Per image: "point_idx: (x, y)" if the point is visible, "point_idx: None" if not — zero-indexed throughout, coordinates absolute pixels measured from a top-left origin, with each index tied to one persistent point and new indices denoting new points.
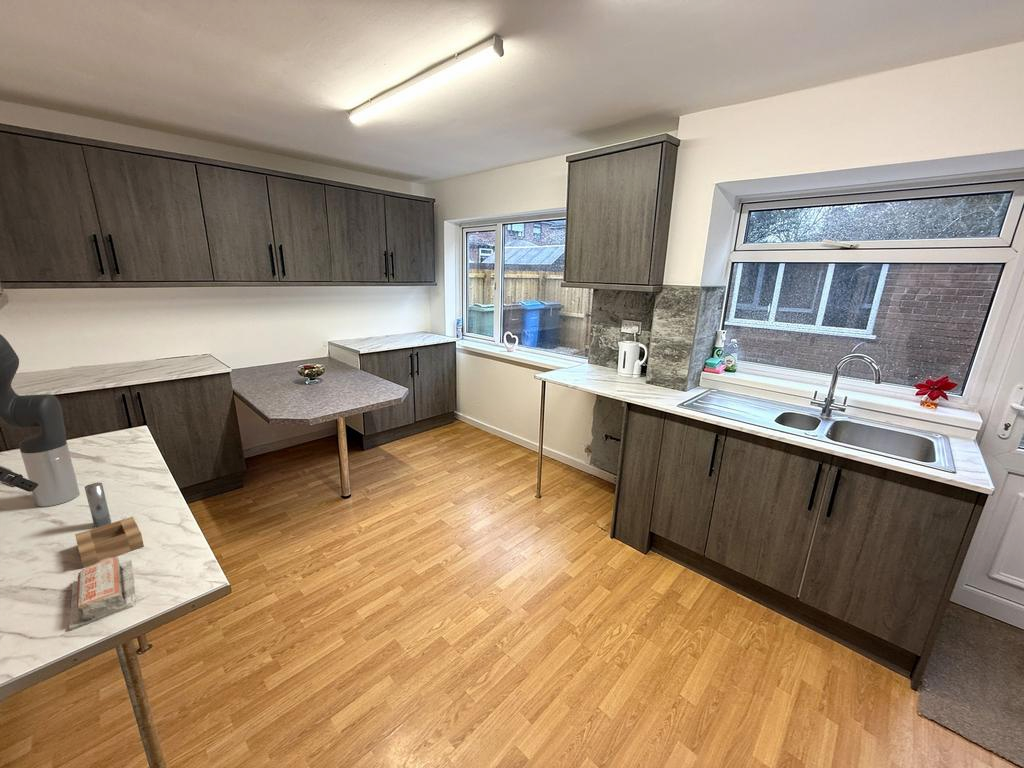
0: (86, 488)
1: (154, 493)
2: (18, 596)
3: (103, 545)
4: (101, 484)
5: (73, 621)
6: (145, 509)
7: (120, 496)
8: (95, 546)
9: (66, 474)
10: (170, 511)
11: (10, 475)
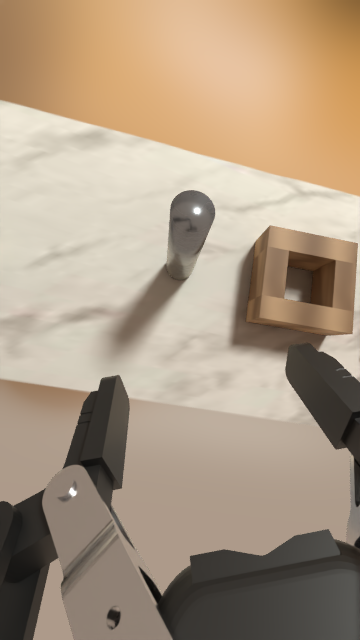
0: (202, 230)
1: (114, 159)
2: None
3: (353, 299)
4: (205, 195)
5: None
6: None
7: (63, 201)
8: (346, 308)
9: None
10: (233, 178)
11: (110, 422)
